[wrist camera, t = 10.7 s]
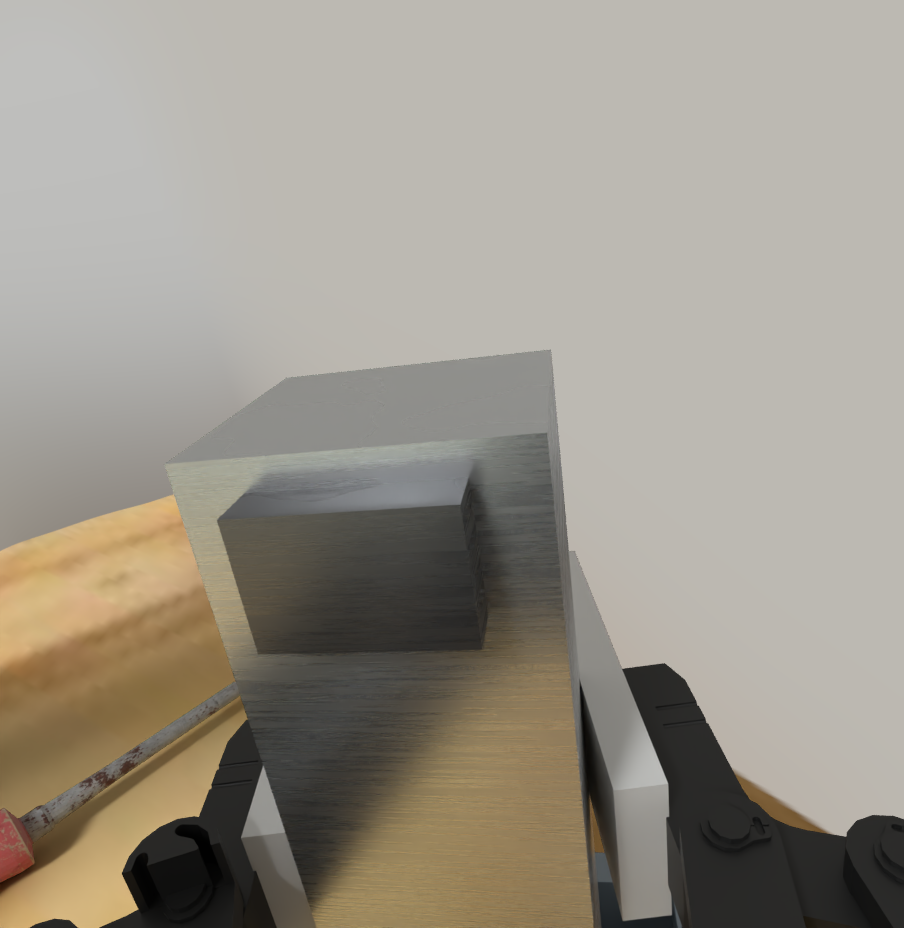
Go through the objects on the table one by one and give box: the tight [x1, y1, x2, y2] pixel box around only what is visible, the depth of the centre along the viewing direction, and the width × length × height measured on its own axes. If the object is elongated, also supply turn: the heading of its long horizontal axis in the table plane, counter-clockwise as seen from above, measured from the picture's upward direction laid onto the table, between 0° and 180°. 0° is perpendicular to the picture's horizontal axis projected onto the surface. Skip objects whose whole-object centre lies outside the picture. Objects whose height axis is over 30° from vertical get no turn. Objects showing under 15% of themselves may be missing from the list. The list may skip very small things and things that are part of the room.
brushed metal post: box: [164, 350, 602, 928], centre depth 11 cm, size 4×4×16 cm
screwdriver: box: [0, 682, 240, 882], centre depth 27 cm, size 25×3×3 cm, turn 138°
